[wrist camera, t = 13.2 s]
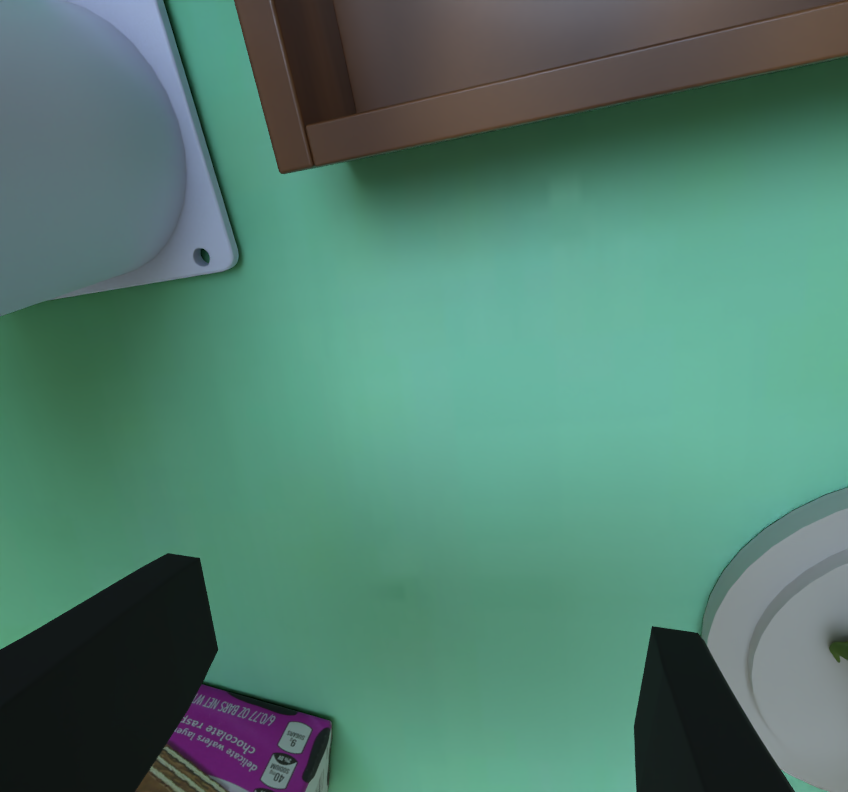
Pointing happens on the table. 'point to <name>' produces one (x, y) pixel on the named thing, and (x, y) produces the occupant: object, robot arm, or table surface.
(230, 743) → the candy bar box
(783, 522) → the monster figurine
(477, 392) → the table surface
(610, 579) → the table surface
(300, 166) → the bin
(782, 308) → the table surface
